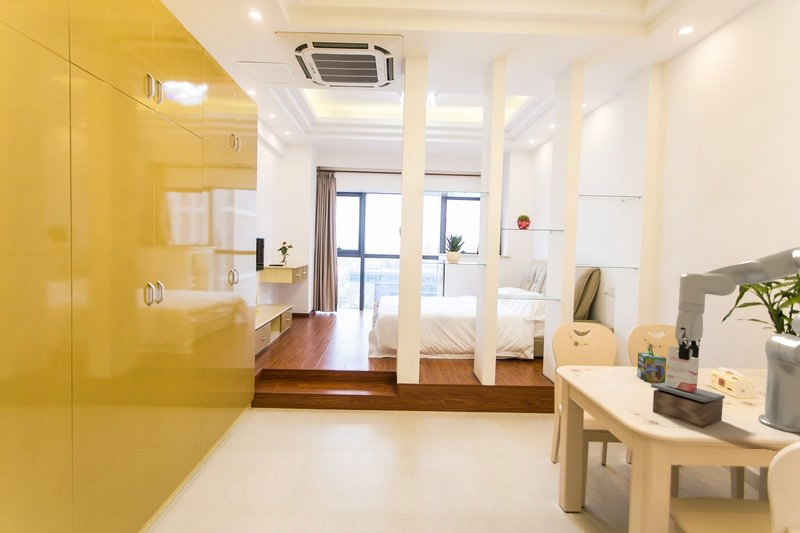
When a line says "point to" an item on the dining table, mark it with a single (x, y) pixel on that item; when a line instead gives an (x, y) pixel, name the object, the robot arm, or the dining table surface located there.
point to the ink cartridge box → (681, 371)
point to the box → (687, 409)
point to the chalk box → (651, 367)
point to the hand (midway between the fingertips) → (688, 357)
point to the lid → (690, 393)
